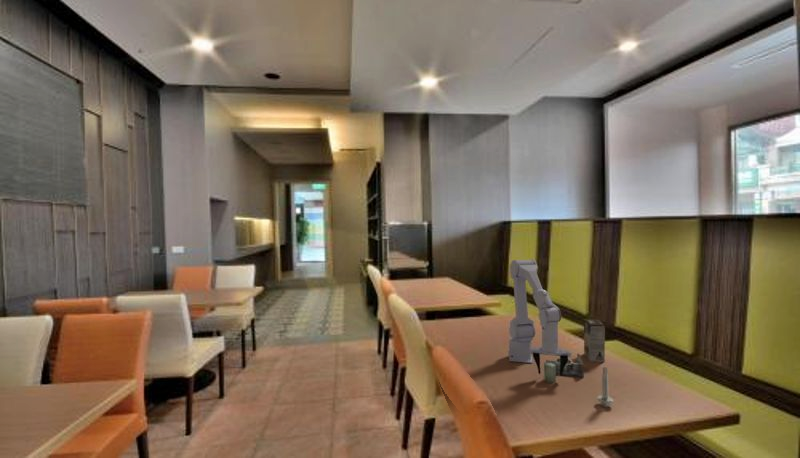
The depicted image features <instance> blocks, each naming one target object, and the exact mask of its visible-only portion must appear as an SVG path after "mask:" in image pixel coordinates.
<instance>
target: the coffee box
mask: <svg viewBox="0 0 800 458" xmlns="http://www.w3.org/2000/svg"><path fill="white" fill-rule="evenodd" d="M605 345H606V325H605V324H604V323H603V322H602V321H601V320H600V319H598V318H597V319H596V318H594V319H593V318H583V352H584V356H586V358H587V360H588V361H589V362H597V363H598V362H601V363H605V362H606V361H605V360H606V358H605V356H606V353H605V351H606V346H605Z"/></svg>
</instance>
